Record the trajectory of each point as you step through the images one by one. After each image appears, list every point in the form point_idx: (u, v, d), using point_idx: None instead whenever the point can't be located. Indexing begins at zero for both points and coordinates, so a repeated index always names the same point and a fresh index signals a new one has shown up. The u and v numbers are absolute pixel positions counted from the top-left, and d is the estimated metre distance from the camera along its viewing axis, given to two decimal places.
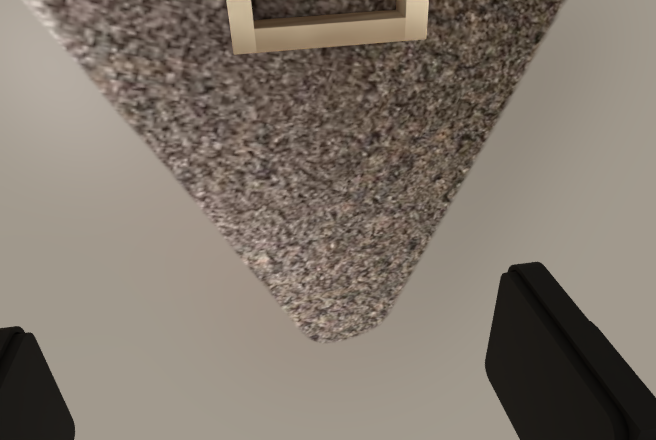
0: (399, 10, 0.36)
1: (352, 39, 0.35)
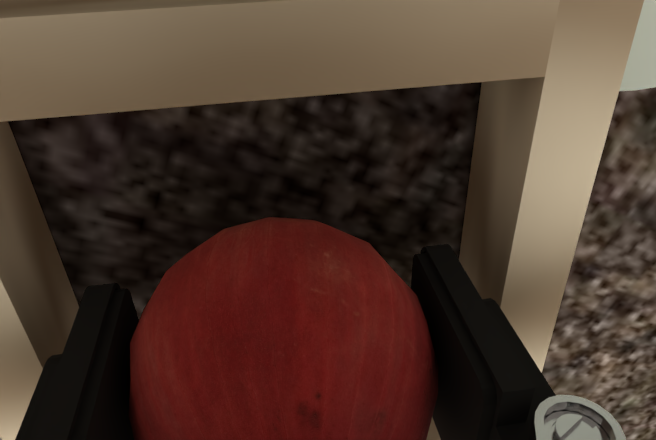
0: None
1: None
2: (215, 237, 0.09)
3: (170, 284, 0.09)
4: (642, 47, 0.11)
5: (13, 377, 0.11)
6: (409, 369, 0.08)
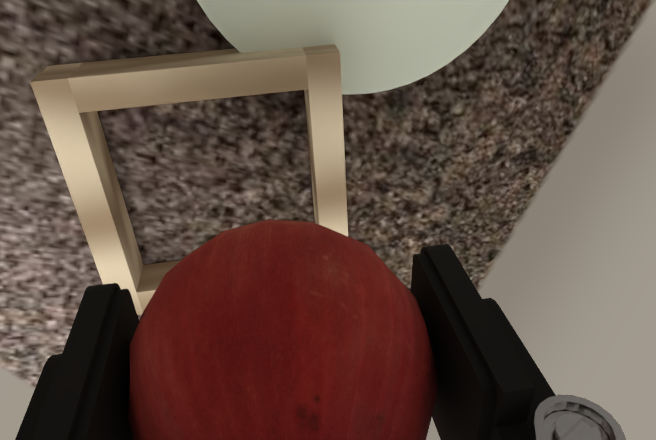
0: None
1: None
2: (214, 240, 0.09)
3: (169, 287, 0.09)
4: (365, 75, 0.25)
5: (100, 222, 0.26)
6: (408, 372, 0.08)
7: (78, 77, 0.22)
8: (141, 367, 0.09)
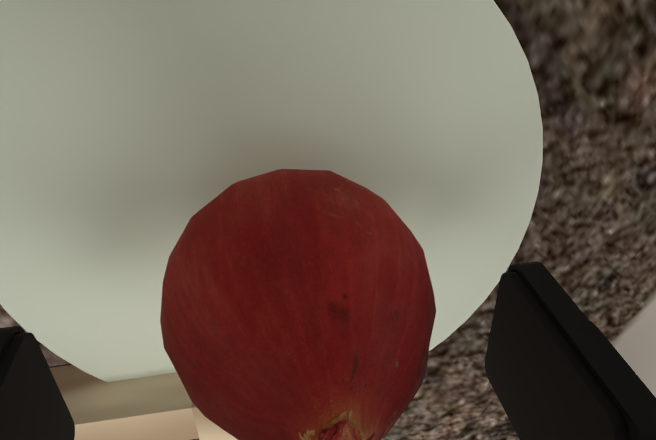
0: None
1: None
2: (235, 183, 0.11)
3: (198, 224, 0.10)
4: None
5: None
6: (415, 280, 0.10)
7: None
8: (180, 292, 0.10)
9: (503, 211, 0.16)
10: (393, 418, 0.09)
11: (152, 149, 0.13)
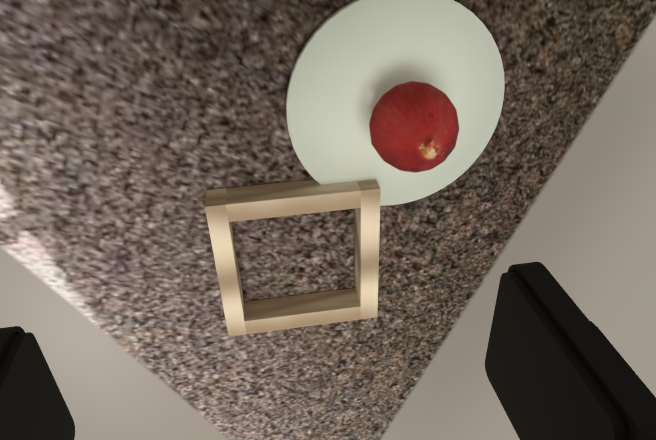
0: (356, 293, 0.47)
1: (319, 321, 0.46)
2: None
3: (387, 95, 0.33)
4: (393, 195, 0.42)
5: (229, 280, 0.42)
6: (452, 113, 0.33)
7: (231, 204, 0.38)
8: (383, 113, 0.33)
9: (489, 109, 0.39)
10: (444, 150, 0.32)
11: (361, 78, 0.36)
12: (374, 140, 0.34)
